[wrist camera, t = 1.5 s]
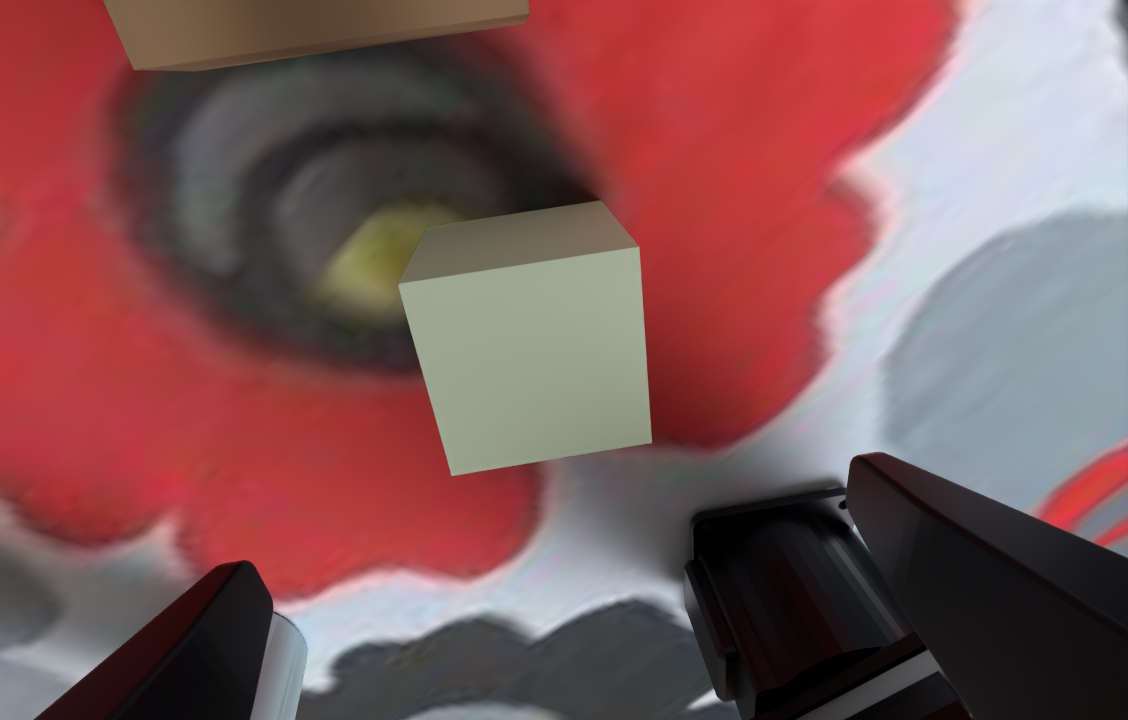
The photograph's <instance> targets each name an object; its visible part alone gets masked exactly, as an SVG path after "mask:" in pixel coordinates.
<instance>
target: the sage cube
mask: <svg viewBox="0 0 1128 720" xmlns="http://www.w3.org/2000/svg"><path fill="white" fill-rule="evenodd" d="M398 288H399V291H400V295H401V298H402V302H403V305H404V309H405V312H406V316H407V319H408V323H409V327H410V330H411V334H412V337H413V341H414V344H415V348H416V351H417V355H418V358H419V362H420V365H421V369H422V373H423V376H424V380H425V383H426V387H427V390H428V394H429V397H430V401H431V404H432V408H433V411H434V415H435V419H436V422H437V426H438V429H439V433H440V436H441V440H442V443H443V447H444V450H445V454H446V457H447V461H448V465H449V468H450V472H451V475H452V476H455V475H461V474H467V473H473V472H479V471H485V470H491V469H497V468H504V467H510V466H516V465H522V464H528V463H534V462H540V461H546V460H552V459H558V458H564V457H570V456H576V455H582V454H588V453H594V452H600V451H606V450H612V449H618V448H624V447H630V446H636V445H643V444H649V443H652V435H651V420H650V404H649V389H648V374H647V358H646V343H645V328H644V312H643V297H642V282H641V266H640V251H639V246H638V245H637V243H636V242H635V241H634V240H633V238H632V237H631V236H630V235H629V234H628V232H627V231H626V230H625V229H624V228H623V226H622V225H621V224H620V223H619V221H618V220H617V219H616V218H615V217H614V215H613V214H612V213H611V212H610V211H609V209H608V208H607V207H606V206H605V204H604V203H603V202H602V201H594V202H587V203H581V204H574V205H568V206H561V207H555V208H548V209H541V210H535V211H528V212H522V213H515V214H509V215H502V216H496V217H489V218H482V219H476V220H469V221H463V222H456V223H450V224H443V225H436V226H430V227H427V228H426V230H425V232H424V234H423V236H422V237H421V239H420V241H419V243H418V245H417V247H416V249H415V251H414V253H413V255H412V257H411V259H410V261H409V263H408V265H407V267H406V268H405V270H404V272H403V274H402V276H401V278H400V280H399V282H398Z"/></svg>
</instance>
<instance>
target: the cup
mask: <svg viewBox="0 0 1128 720" xmlns="http://www.w3.org/2000/svg"><path fill="white" fill-rule="evenodd" d="M307 652H308V649H307V645H306V642H305V640H304V638H303V636H302V635H301V633H300V632H299V631H298V630H297V628H296V627H295V626H294V625H293V624H291V623H290V622H289V621H287V620H286V619H284V618H282V617H281V616H279V615H277V614H275V613H273V617H272V621H271V626H270V631H269V635H268V640H267V645H266V650H265V654H264V659H263V664H262V668H261V673H260V678H259V682H258V687H257V692H256V697H255V701H254V706H253V710H252V714H251V718H250V720H295V716H296V711H297V706H298V702H299V697H300V692H301V687H302V682H303V677H304V672H305V667H306V661H307Z"/></svg>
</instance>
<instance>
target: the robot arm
mask: <svg viewBox="0 0 1128 720" xmlns="http://www.w3.org/2000/svg"><path fill="white" fill-rule="evenodd" d="M704 524H706V525H704ZM854 524H855V525H856V527H857V529H858V531H859V533H860V535H861V537H862V538H863V540H864V542H865V544H866V546H867V548H868V549H867V548H866V546H865V545H864V544H863V543H862V541H861V540H860V539H859V537H858V536H857V535H856V534H855V532H854V531H853V526H854ZM702 525H704V526H702ZM690 541H691V560H688V561H687V562H686V564H685V566H684V586H685V607H686V610H687V613H688V616H689V619H690V621H691V624H692V627H693V630H694V633H695V636H696V638H697V641H698V644H699V647H700V650H701V653H702V655H703V658H704V661H705V664H706V667H707V670H708V673H709V675H710V678H711V681H712V684H713V687H714V690H715V692H716V695H717V697H718V698H719V699H720V700H722V701H723V702H724V703H726V702H732V701H735V702H736V705H737V708H738V710H739V713H740V715H741V718H742V720H1128V558H1127V557H1125V556H1123V555H1120V554H1118V553H1116V552H1113V551H1111V550H1109V549H1107V548H1104V547H1102V546H1100V545H1097V544H1095V543H1093V542H1090V541H1088V540H1086V539H1083V538H1081V537H1079V536H1076V535H1074V534H1072V533H1069V532H1067V531H1065V530H1062V529H1060V528H1058V527H1056V526H1053V525H1051V524H1049V523H1046V522H1044V521H1042V520H1039V519H1037V518H1035V517H1032V516H1030V515H1028V514H1025V513H1023V512H1021V511H1018V510H1016V509H1014V508H1011V507H1009V506H1007V505H1005V504H1002V503H1000V502H998V501H995V500H993V499H991V498H988V497H986V496H984V495H981V494H979V493H977V492H974V491H972V490H970V489H967V488H965V487H963V486H960V485H958V484H956V483H953V482H951V481H949V480H947V479H944V478H942V477H940V476H937V475H935V474H933V473H930V472H928V471H926V470H923V469H921V468H919V467H916V466H914V465H912V464H909V463H907V462H905V461H902V460H900V459H898V458H896V457H893V456H891V455H889V454H886V453H883V452H873V453H868V454H862V455H857V456H855V457H853V459H852V460H851V462H850V468H849V475H848V482H847V488H837V489H831V490H825V491H819V492H813V493H808V494H802V495H796V496H790V497H785V498H779V499H773V500H767V501H761V502H756V503H750V504H744V505H738V506H733V507H727V508H721V509H715V510H709V511H704V512H700V513H697V514H696V515H694V516H693V517H692V519H691V521H690ZM869 551H870V552H869ZM272 617H273V601H272V597H271V595H270V593H269V591H268V589H267V588H266V586H265V584H264V582H263V580H262V578H261V577H260V575H259V573H258V571H257V569H256V567H255V566H254V564H253V563H251V562H250V561H246V560H242V561H236V562H230V563H224V564H221V565H218V566H216V567H215V568H214V569H212V570H211V571H210V572H209V573H208V574H206V575H205V576H204V577H203V578H202V579H200V580H199V581H198V582H197V583H196V584H195V585H193V586H192V587H191V588H190V589H189V590H187V591H186V592H185V593H184V594H183V595H181V596H180V597H179V598H178V599H177V600H175V601H174V602H173V603H172V604H171V605H170V606H168V607H167V608H166V609H165V610H164V611H162V612H161V613H160V614H159V615H158V616H156V617H155V618H154V619H153V620H152V621H150V622H149V623H148V624H147V625H146V626H145V627H143V628H142V629H141V630H140V631H139V632H137V633H136V634H135V635H134V636H133V637H131V638H130V639H129V640H128V641H127V642H125V643H124V644H123V645H122V646H121V647H120V648H118V649H117V650H116V651H115V652H114V653H112V654H111V655H110V656H109V657H108V658H106V659H105V660H104V661H103V662H102V663H100V664H99V665H98V666H97V667H96V668H95V669H93V670H92V671H91V672H90V673H89V674H87V675H86V676H85V677H84V678H83V679H81V680H80V681H79V682H78V683H77V684H75V685H74V686H73V687H72V688H71V689H69V690H68V691H67V692H66V693H65V694H64V695H62V696H61V697H60V698H59V699H58V700H56V701H55V702H54V703H53V704H52V705H50V706H49V707H48V708H47V709H46V710H44V711H43V712H42V713H41V714H40V715H39V716H37V717H36V718H35V719H34V720H250V718H251V714H252V710H253V706H254V701H255V697H256V692H257V687H258V682H259V678H260V673H261V668H262V664H263V659H264V654H265V650H266V645H267V640H268V635H269V631H270V626H271V621H272Z"/></svg>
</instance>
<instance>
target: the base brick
mask: <svg viewBox="0 0 1128 720" xmlns="http://www.w3.org/2000/svg"><path fill="white" fill-rule="evenodd" d="M103 1H104V4H105V6H106V8H107V10H108V13H109V15H110V17H111V20H112V22H113V24H114V26H115V29H116V31H117V33H118V35H119V38H120V40H121V42H122V45H123V47H124V49H125V51H126V54H127V56H128V58H129V60H130V63H131V65H132V67H133V70H156V71H203V70H210V69H217V68H224V67H231V66H238V65H245V64H252V63H259V62H266V61H273V60H280V59H287V58H294V57H300V56H307V55H314V54H321V53H328V52H335V51H342V50H349V49H356V48H363V47H370V46H377V45H384V44H391V43H398V42H404V41H411V40H418V39H425V38H432V37H439V36H446V35H453V34H460V33H467V32H474V31H481V30H488V29H495V28H502V27H508V26H515V25H522V24H525V22H526V20H527V18H528V16H529V14H530V12H529V5H528V0H103Z"/></svg>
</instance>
